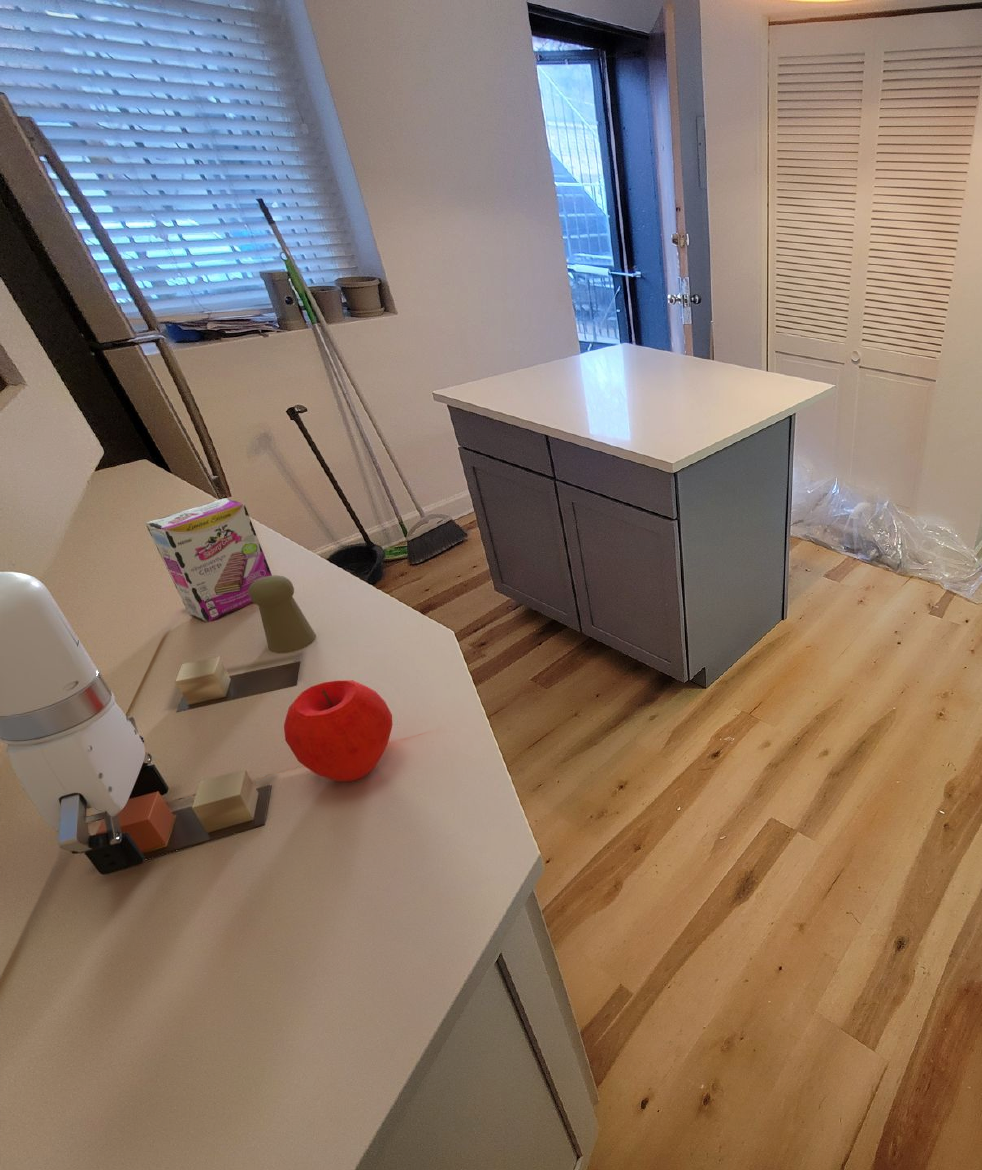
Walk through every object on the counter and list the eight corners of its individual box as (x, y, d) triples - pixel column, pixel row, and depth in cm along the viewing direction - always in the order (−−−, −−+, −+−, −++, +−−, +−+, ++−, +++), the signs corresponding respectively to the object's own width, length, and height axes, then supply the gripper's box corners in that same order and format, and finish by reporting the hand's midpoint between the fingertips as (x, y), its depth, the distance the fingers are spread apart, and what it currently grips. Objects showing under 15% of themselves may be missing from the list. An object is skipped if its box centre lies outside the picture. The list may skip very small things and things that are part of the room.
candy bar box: (210, 624, 99) (163, 529, 91) (188, 616, 101) (141, 522, 92) (281, 591, 108) (245, 502, 100) (261, 584, 110) (224, 496, 101)
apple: (414, 735, 82) (389, 659, 75) (387, 796, 73) (357, 716, 67) (328, 742, 80) (296, 665, 74) (291, 805, 72) (250, 724, 65)
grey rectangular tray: (177, 713, 83) (162, 688, 80) (187, 686, 87) (173, 661, 85) (297, 686, 88) (287, 662, 86) (301, 662, 93) (291, 638, 91)
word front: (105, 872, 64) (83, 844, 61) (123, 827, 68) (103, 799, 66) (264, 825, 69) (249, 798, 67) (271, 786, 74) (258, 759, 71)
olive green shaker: (258, 648, 95) (230, 585, 89) (297, 627, 100) (273, 566, 94) (287, 658, 93) (260, 595, 88) (326, 637, 98) (302, 575, 93)
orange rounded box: (114, 859, 64) (95, 833, 62) (126, 829, 67) (108, 804, 65) (165, 844, 66) (148, 819, 64) (175, 816, 69) (158, 790, 67)
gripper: (32, 660, 62) (116, 783, 71) (-59, 786, 49) (57, 917, 58) (133, 642, 65) (201, 761, 74) (72, 755, 52) (164, 884, 61)
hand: (138, 829), depth 66 cm, fingers open, 9 cm apart
